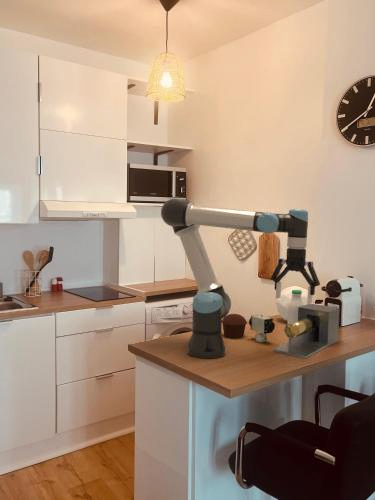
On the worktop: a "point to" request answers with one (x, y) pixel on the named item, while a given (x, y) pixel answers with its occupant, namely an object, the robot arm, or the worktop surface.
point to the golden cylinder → (297, 328)
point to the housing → (313, 331)
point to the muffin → (234, 326)
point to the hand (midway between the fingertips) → (293, 300)
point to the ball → (286, 298)
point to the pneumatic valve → (261, 326)
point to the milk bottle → (294, 306)
